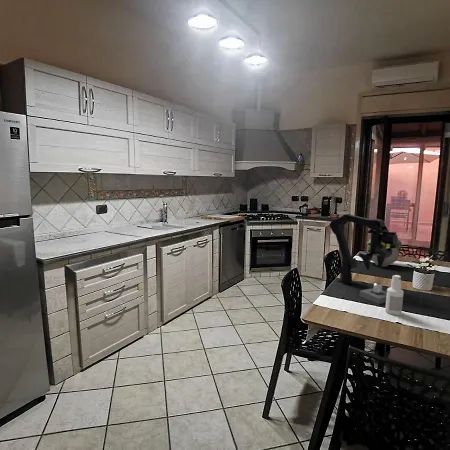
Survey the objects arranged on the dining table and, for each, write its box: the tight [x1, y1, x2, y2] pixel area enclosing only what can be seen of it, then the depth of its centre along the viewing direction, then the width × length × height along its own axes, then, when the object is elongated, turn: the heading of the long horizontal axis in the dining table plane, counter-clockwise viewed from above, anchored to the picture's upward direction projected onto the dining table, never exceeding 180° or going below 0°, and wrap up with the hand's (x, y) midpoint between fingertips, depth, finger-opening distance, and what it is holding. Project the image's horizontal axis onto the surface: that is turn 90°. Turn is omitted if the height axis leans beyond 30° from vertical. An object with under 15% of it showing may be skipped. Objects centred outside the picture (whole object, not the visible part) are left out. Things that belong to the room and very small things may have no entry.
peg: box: [372, 282, 383, 295], centre depth 165 cm, size 4×4×8 cm
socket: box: [358, 287, 387, 305], centre depth 165 cm, size 12×12×3 cm
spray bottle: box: [384, 274, 404, 316], centre depth 146 cm, size 7×7×18 cm
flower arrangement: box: [366, 238, 403, 268], centre depth 228 cm, size 25×25×24 cm
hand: (373, 268), depth 176 cm, fingers open, 9 cm apart
